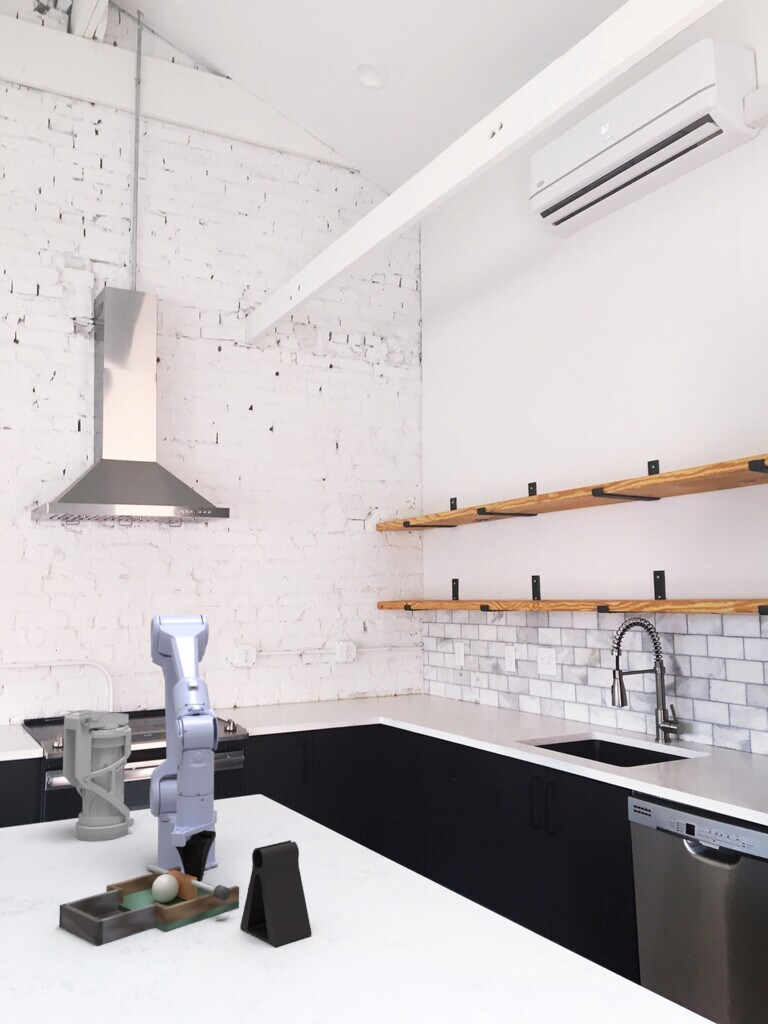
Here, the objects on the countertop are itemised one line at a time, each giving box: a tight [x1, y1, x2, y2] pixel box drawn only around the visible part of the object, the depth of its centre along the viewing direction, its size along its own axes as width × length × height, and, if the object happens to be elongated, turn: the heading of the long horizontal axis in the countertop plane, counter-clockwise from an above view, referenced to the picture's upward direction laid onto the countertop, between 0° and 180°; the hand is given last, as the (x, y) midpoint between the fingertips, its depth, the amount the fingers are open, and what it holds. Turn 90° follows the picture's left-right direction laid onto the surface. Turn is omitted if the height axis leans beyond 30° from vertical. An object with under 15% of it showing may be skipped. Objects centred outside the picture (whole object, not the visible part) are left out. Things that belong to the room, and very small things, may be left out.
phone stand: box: [240, 839, 313, 948], centre depth 124 cm, size 9×6×12 cm, turn 41°
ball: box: [152, 874, 179, 903], centre depth 133 cm, size 4×4×4 cm
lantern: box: [62, 709, 135, 842], centre depth 176 cm, size 13×10×25 cm
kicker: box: [146, 863, 230, 901], centre depth 135 cm, size 2×20×3 cm, turn 48°
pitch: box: [58, 866, 240, 946], centre depth 131 cm, size 22×16×3 cm
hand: (194, 881), depth 137 cm, fingers closed
